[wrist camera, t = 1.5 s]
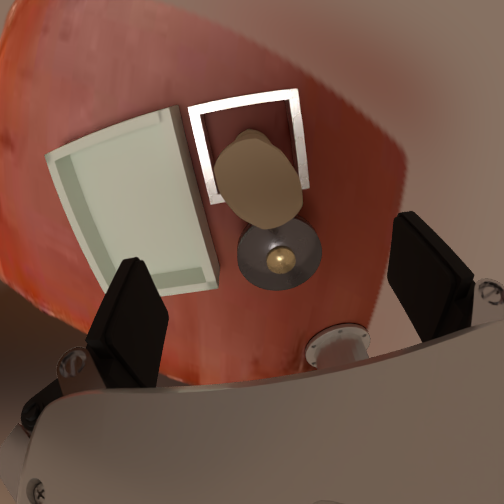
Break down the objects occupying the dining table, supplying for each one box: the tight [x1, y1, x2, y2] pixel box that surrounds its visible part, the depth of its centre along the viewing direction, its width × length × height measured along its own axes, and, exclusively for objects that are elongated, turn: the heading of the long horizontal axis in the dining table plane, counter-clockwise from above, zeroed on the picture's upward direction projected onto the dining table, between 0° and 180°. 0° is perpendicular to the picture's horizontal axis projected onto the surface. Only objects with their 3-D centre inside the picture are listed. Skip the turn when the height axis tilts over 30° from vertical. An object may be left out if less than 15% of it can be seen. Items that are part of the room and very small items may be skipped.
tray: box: [45, 105, 220, 296], centre depth 32 cm, size 22×16×4 cm
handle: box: [214, 129, 303, 229], centre depth 24 cm, size 5×6×15 cm
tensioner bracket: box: [188, 89, 322, 291], centre depth 30 cm, size 21×11×8 cm, turn 10°
